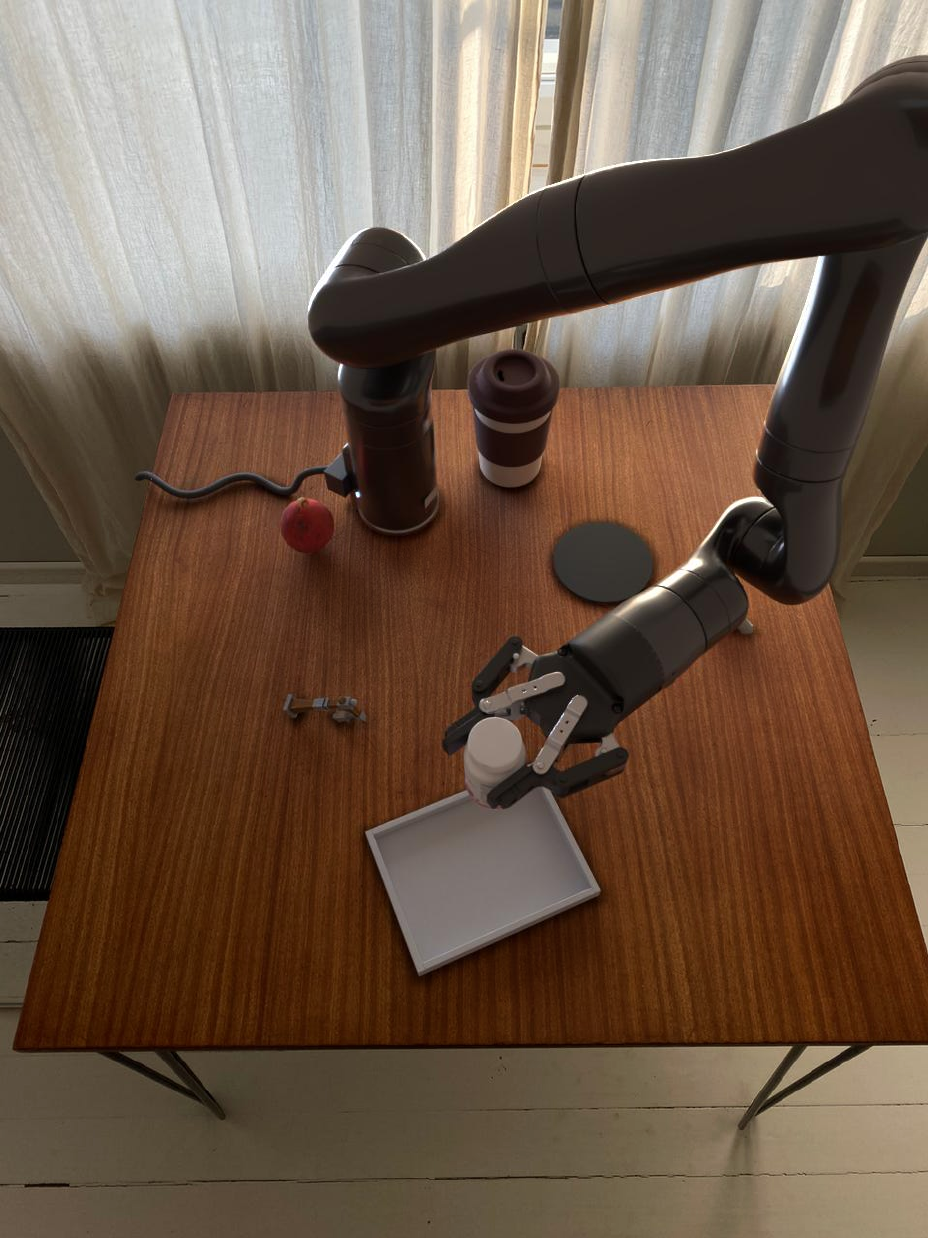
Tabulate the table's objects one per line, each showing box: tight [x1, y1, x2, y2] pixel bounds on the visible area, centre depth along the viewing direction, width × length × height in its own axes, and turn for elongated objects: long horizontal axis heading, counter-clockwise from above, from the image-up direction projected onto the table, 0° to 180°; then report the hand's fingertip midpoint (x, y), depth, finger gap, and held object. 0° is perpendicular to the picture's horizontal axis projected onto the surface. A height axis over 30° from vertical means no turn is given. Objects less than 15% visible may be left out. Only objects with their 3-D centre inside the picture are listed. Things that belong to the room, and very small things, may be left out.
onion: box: [280, 496, 335, 555], centre depth 95 cm, size 6×6×8 cm
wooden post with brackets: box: [282, 693, 369, 724], centre depth 86 cm, size 2×8×4 cm, turn 79°
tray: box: [364, 762, 602, 977], centre depth 78 cm, size 17×13×2 cm
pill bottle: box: [463, 717, 527, 810], centre depth 67 cm, size 5×5×8 cm
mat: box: [552, 521, 654, 605], centre depth 97 cm, size 11×11×1 cm
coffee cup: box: [467, 348, 561, 488], centre depth 98 cm, size 10×10×15 cm
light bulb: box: [737, 617, 754, 635], centre depth 92 cm, size 3×6×4 cm
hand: (468, 774), depth 65 cm, fingers closed on pill bottle, 4 cm apart
